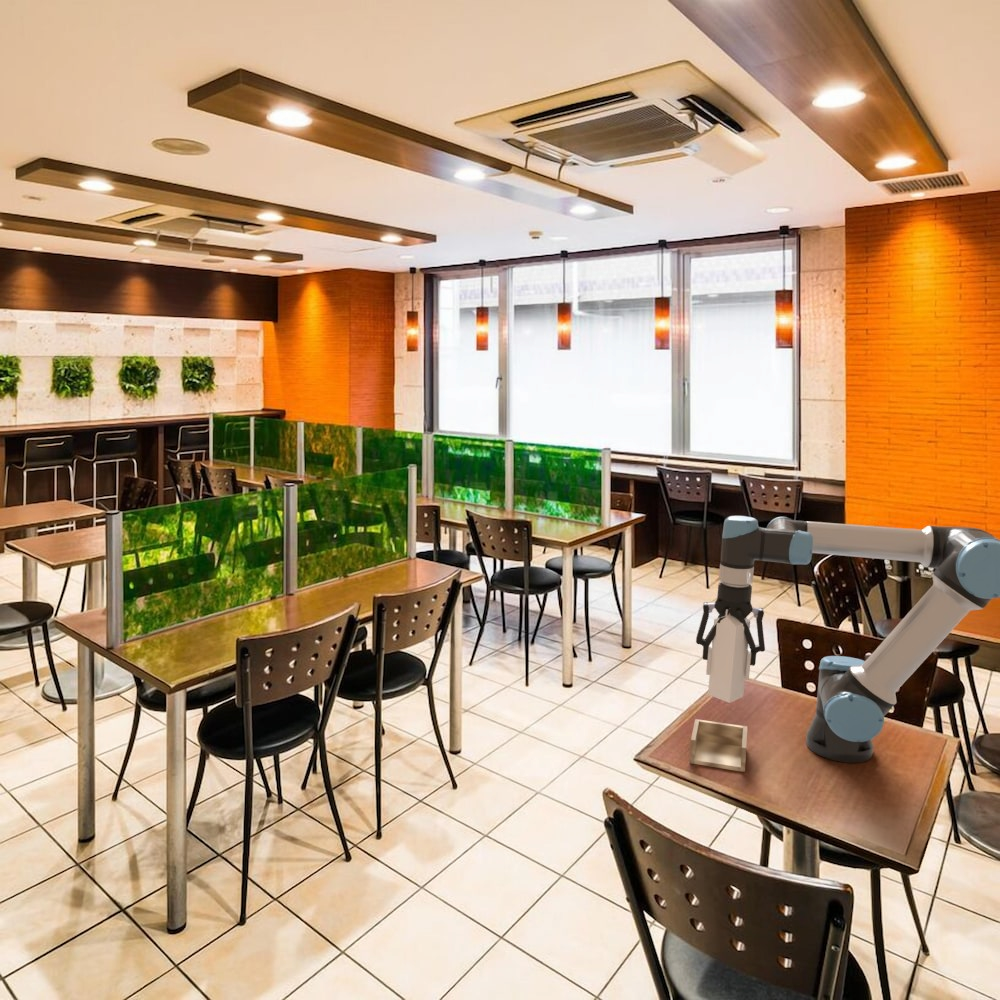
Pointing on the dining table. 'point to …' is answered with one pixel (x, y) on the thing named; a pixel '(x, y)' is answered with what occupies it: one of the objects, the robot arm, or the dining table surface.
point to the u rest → (719, 745)
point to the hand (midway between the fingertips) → (727, 674)
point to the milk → (728, 659)
